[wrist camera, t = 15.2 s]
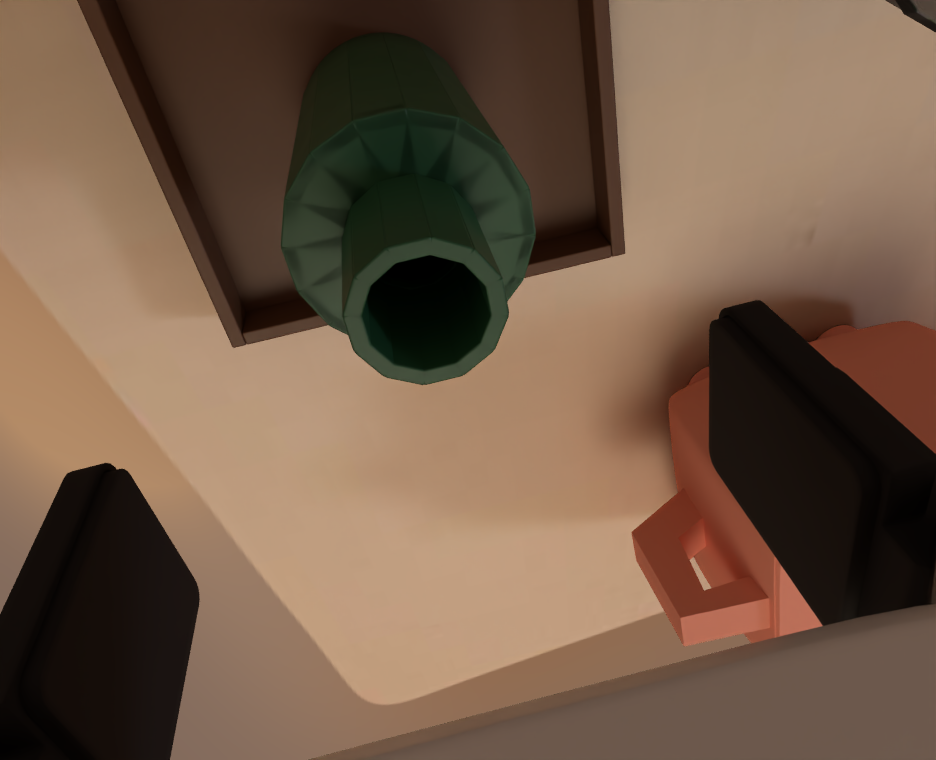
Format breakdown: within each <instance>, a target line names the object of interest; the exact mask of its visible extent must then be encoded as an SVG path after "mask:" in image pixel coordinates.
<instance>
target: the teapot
mask: <svg viewBox="0 0 936 760" xmlns="http://www.w3.org/2000/svg"><path fill="white" fill-rule="evenodd" d="M808 343H809V344H810V345H811V346H812V347H814V348H815V349H816V350H817V351H818V352H819V353H820V354H821V355H822V356H824V357H825V358H826V359H827V360H828V361H829V362H830V363H831V364H832V365H833V366H835V367H837V368H839V369H840V370H842V371H843V372H845V373H846V374H847V375H848V376H849V377H850V378H852V379H853V380H854V381H855V382H856V383H857V384H858V385H859V386H860V387H862V388H863V389H864V390H865V391H866V392H867V393H868V394H869V395H871V396H872V397H873V398H874V399H875V400H876V401H877V402H878V403H879V404H881V405H882V406H883V407H884V408H885V409H886V410H887V411H888V412H890V413H891V414H892V415H893V416H894V417H895V418H896V419H897V420H898V421H900V422H901V423H902V424H903V425H904V426H905V427H906V428H907V429H908V430H910V431H911V432H912V433H913V434H914V435H915V436H916V437H917V438H919V439H920V440H921V441H922V442H923V443H924V444H925V445H926V446H927V447H929V448H930V449H931V450H932V451H933V452H934V453H935V454H936V331H935V330H932V329H930V328H927V327H925V326H922V325H920V324H916V323H913V322H910V321H899V322H891V323H886V324H881V325H876V326H872V327H867V328H863V329H859V330H857V329H855V328H854V327H852V326H849V325H840V326H836V327H833V328H831V329H829V330H827V331H826V332H824V333H823V334H822V335H820V336H819V337H818V338H817V340H816V341H812V342H808ZM669 423H670V434H671V444H672V453H673V461H674V470H675V477H676V483H677V490H678V493H677V494H676V495H675V496H674V497H673V498H671V499H670V500H669V501H668V502H667V503H665V504H664V505H663V506H662V507H661V508H660V509H658V510H657V511H656V512H655V513H654V514H652V515H651V516H650V517H649V518H648V519H647V520H645V521H644V522H643V523H642V524H641V525H639V526H638V527H637V528H636V529H635V530H634V531H632V538H633V544H634V549H635V555H636V560H637V562H638V564H639V566H640V568H641V570H642V571H643V573H644V575H645V577H646V579H647V580H648V582H649V584H650V586H651V588H652V589H653V591H654V593H655V595H656V597H657V598H658V600H659V602H660V604H661V606H662V608H663V609H664V611H665V613H666V615H667V616H668V618H669V620H670V622H671V623H672V626H673V627H674V629H675V631H676V633H677V635H678V636H679V638H680V640H681V642H682V644H683V646H689V645H693V644H698V643H702V642H707V641H711V640H716V639H721V638H725V637H730V636H734V635H739V634H745V636H746V637H747V638H748V640H749V641H750V642H751V643H755V642H759V641H763V640H767V639H771V638H775V637H780V636H784V635H788V634H792V633H796V632H800V631H805V630H809V629H813V628H817V627H821V626H823V625H822V624H821V623H820V621H819V620H818V618H817V617H816V615H815V614H814V612H813V611H812V609H811V608H810V607H809V605H808V604H807V602H806V601H805V599H804V598H803V596H802V595H801V594H800V592H799V591H798V589H797V588H796V586H795V585H794V583H793V582H792V580H791V579H790V578H789V576H788V575H787V573H786V572H785V570H784V569H783V567H782V566H781V565H780V563H779V562H778V560H777V559H776V557H775V556H774V554H773V553H772V551H771V550H770V549H769V547H768V546H767V544H766V543H765V541H764V540H763V538H762V537H761V536H760V534H759V533H758V531H757V530H756V528H755V527H754V525H753V524H752V522H751V521H750V520H749V518H748V517H747V515H746V514H745V512H744V511H743V509H742V508H741V507H740V505H739V504H738V502H737V501H736V499H735V498H734V496H733V495H732V494H731V492H730V491H729V489H728V488H727V486H726V485H725V483H724V482H723V480H722V479H721V478H720V476H719V475H718V473H717V472H716V470H715V468H714V466H713V464H712V461H711V458H710V454H709V366H708V367H705V368H703V369H702V370H700V371H699V372H697V373H696V374H695V375H694V376H693V377H692V379H691V380H690V382H689V384H688V386H687V387H685V388H683V389H681V390H679V391H677V392H676V393H675V394H673V395H672V396H671V398H670V399H669ZM693 557H694V558H695V560H696V562H697V564H698V566H699V567H700V569H701V571H702V573H703V575H704V576H705V578H706V579H707V581H708V583H709V584H710V586H711V589H708V590H705V591H704V590H703V588H702V586H701V583H700V581H699V579H698V577H697V575H696V573H695V571H694V569H693V567H692V565H691V563H690V561H689V560H690V559H691V558H693Z"/></svg>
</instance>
